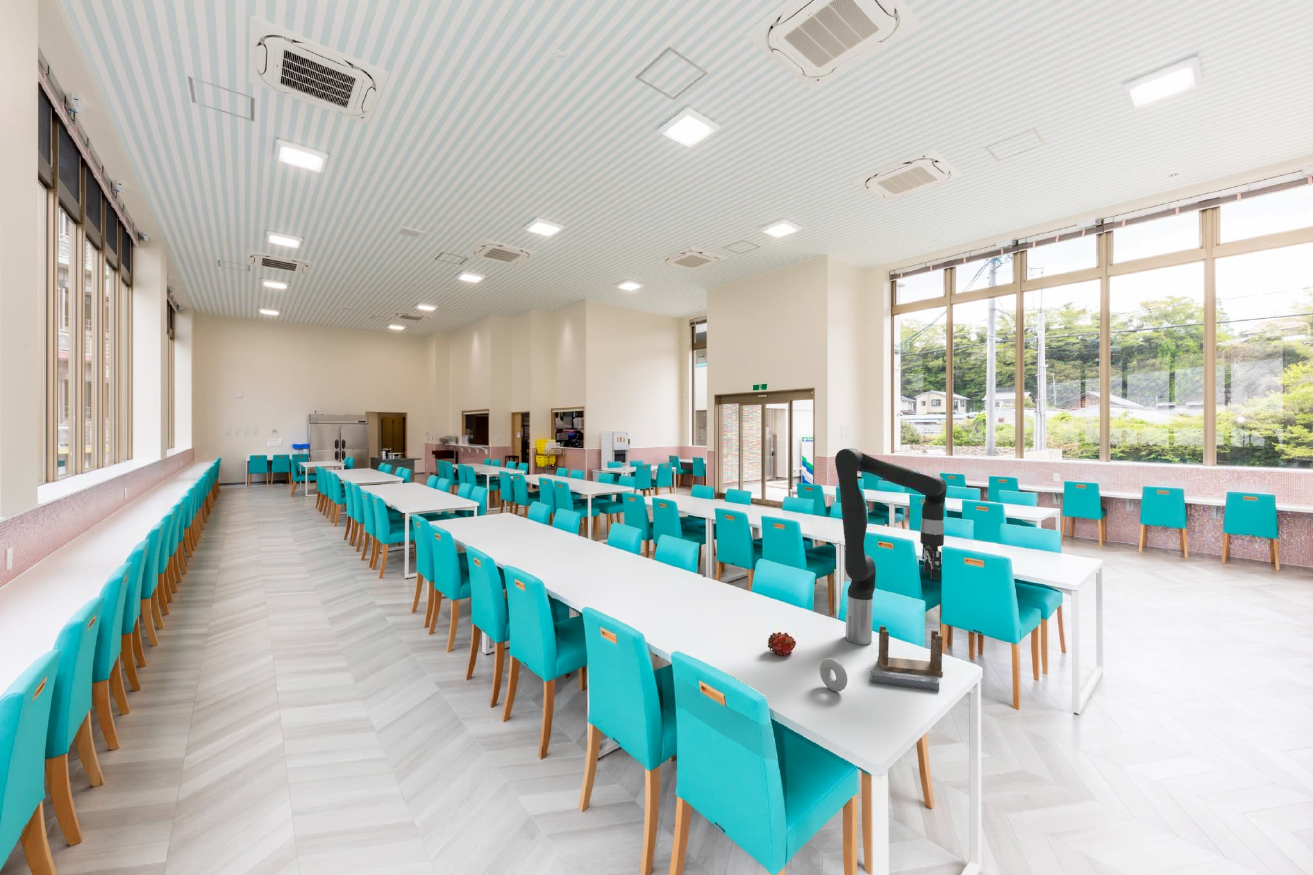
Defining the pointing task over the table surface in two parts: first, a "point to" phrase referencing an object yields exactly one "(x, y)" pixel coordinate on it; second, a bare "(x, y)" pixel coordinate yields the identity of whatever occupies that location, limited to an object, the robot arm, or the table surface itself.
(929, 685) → the steel bar
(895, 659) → the walnut stand
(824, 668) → the donut
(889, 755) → the table surface
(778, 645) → the red bumpy oval lump
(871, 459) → the robot arm
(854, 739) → the table surface
